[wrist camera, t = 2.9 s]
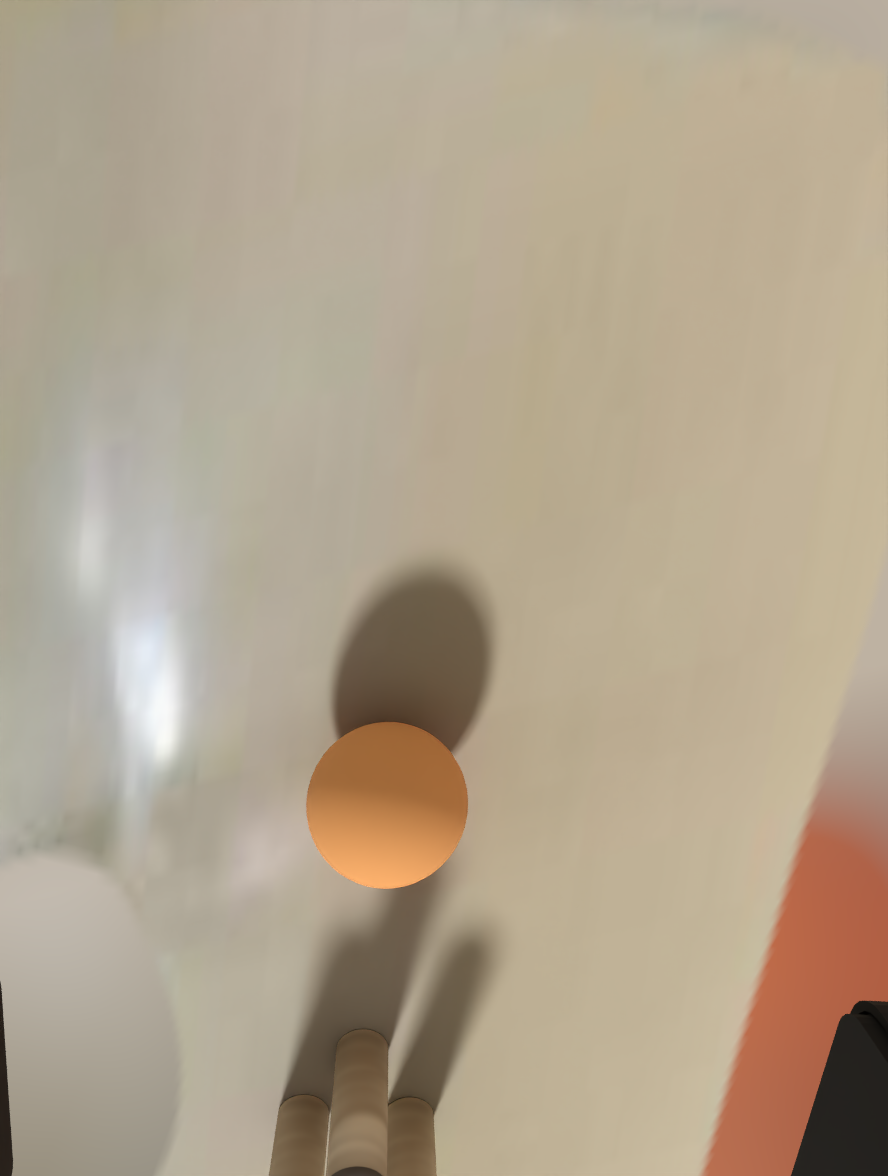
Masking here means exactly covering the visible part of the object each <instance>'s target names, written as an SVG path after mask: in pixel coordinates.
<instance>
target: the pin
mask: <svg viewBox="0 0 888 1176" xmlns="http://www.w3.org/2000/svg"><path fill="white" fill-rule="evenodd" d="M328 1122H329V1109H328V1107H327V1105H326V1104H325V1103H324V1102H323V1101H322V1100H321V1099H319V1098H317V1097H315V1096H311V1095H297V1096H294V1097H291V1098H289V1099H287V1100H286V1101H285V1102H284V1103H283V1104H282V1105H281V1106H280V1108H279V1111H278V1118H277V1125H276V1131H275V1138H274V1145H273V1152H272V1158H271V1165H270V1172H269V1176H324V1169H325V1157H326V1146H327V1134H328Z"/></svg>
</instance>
